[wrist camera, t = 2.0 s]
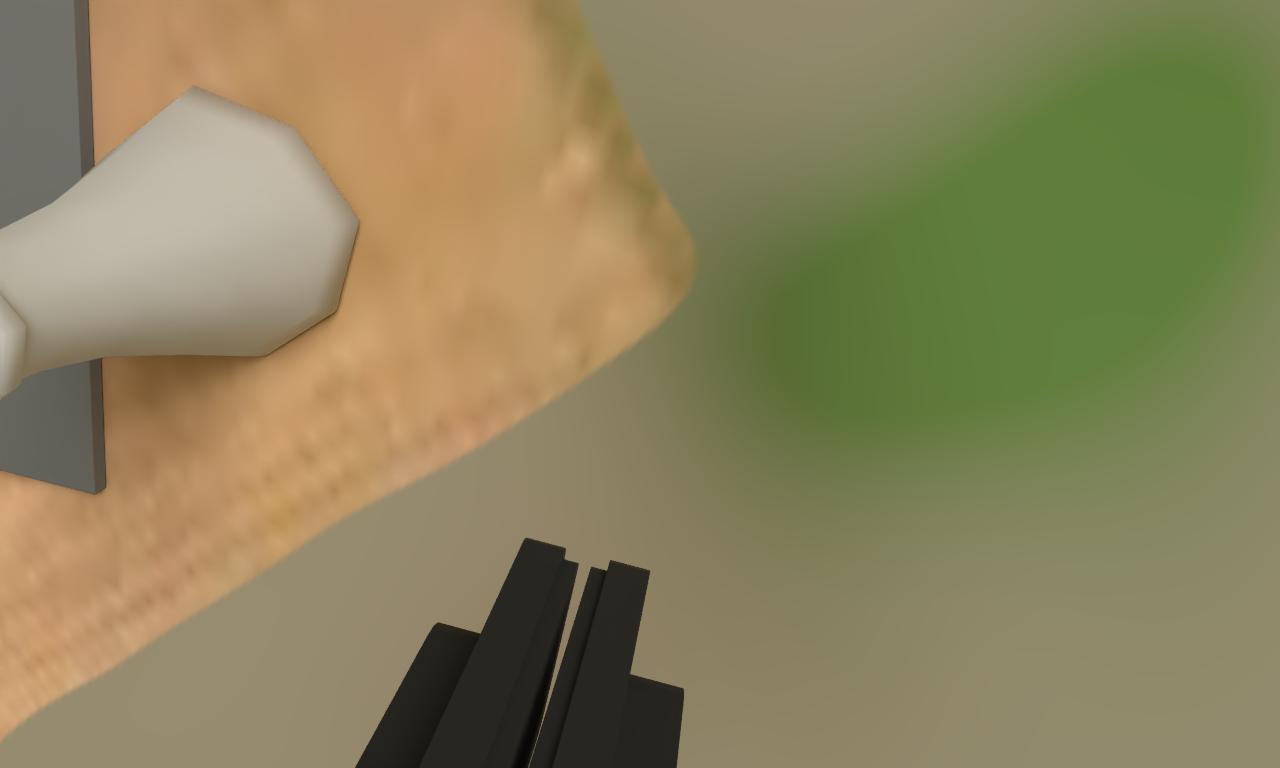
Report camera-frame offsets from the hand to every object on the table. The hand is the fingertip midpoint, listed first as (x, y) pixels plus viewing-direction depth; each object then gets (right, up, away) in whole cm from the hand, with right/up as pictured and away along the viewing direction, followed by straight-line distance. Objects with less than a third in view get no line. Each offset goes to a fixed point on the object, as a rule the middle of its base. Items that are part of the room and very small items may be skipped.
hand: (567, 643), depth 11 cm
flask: (-11, +8, +13) cm, 19 cm away
